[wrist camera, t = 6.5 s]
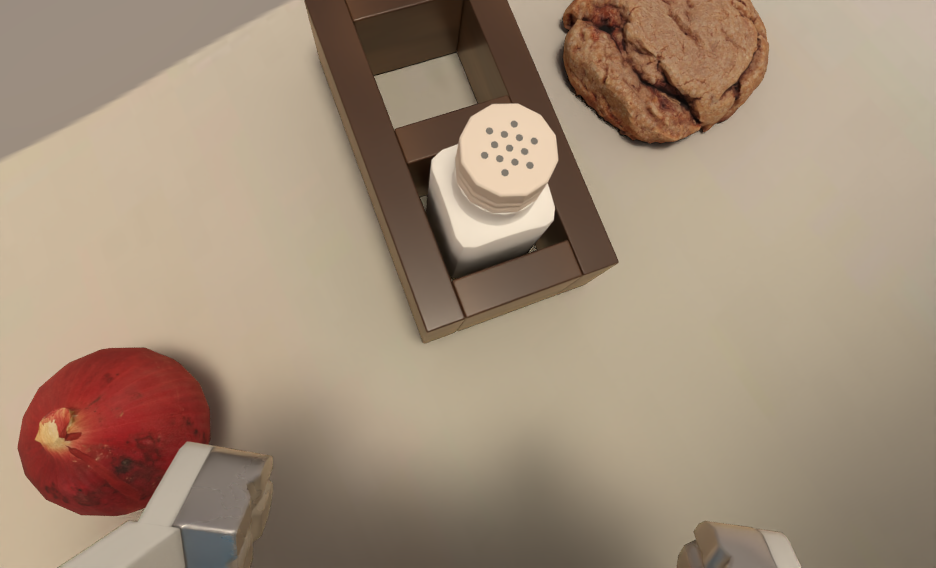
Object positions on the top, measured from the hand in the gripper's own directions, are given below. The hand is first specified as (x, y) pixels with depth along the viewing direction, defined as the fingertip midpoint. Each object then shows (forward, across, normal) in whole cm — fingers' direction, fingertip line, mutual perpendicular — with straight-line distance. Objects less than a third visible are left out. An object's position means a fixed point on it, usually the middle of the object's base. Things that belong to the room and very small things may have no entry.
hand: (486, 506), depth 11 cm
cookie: (+26, -8, -4) cm, 27 cm away
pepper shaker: (+18, 0, +4) cm, 18 cm away
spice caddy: (+20, +2, +2) cm, 20 cm away
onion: (+10, +12, +11) cm, 19 cm away
